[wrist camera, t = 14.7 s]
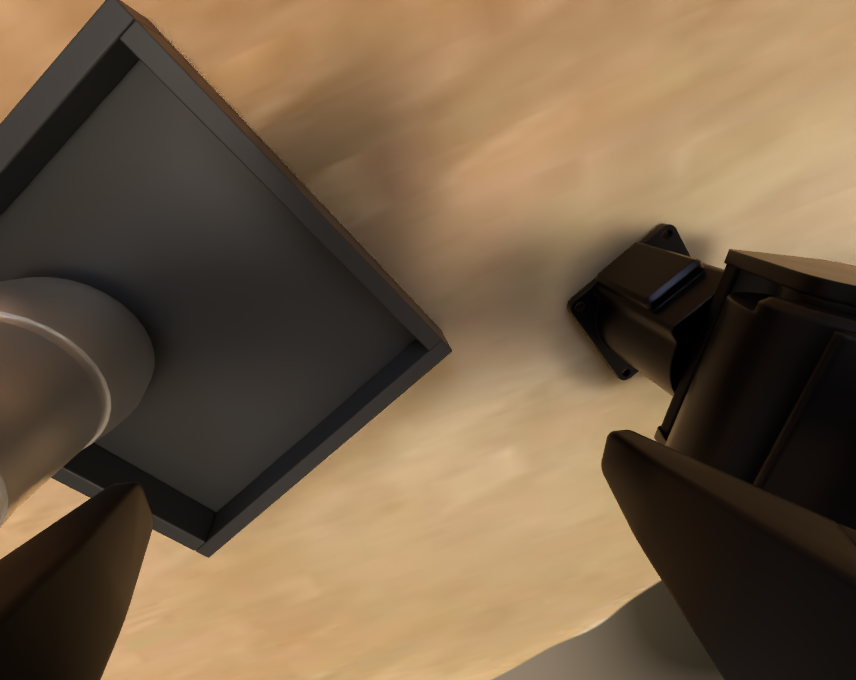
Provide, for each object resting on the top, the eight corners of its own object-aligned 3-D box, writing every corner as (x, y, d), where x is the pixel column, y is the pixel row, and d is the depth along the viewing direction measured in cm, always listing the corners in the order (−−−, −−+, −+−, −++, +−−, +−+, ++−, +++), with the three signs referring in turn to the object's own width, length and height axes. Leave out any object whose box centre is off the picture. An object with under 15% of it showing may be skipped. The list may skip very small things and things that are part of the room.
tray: (441, 330, 22) (453, 351, 19) (221, 520, 24) (208, 558, 22) (146, 17, 15) (110, -8, 12) (-125, 326, 17) (-197, 352, 15)
